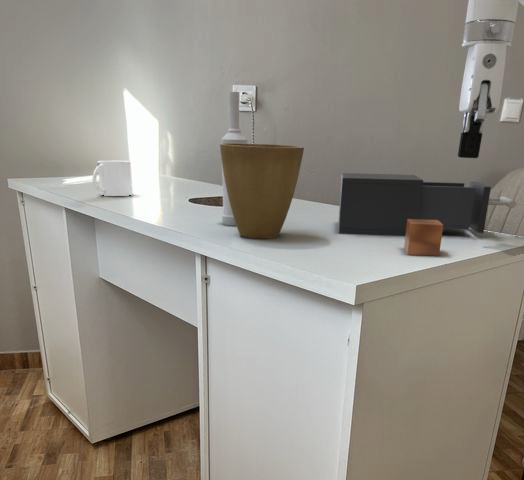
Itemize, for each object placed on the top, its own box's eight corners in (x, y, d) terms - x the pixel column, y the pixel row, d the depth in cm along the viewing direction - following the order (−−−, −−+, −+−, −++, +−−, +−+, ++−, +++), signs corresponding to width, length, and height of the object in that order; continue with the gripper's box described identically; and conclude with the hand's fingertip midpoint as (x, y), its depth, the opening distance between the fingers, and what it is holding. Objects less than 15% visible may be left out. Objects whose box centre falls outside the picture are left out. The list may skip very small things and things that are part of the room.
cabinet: (408, 225, 118) (414, 174, 114) (416, 236, 106) (423, 180, 102) (338, 223, 119) (341, 173, 116) (338, 233, 108) (342, 177, 104)
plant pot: (233, 244, 95) (233, 145, 89) (212, 230, 108) (210, 142, 102) (313, 240, 100) (317, 146, 94) (283, 227, 113) (286, 143, 107)
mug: (123, 192, 167) (121, 160, 163) (138, 195, 160) (136, 161, 157) (85, 195, 159) (82, 161, 156) (99, 198, 153) (96, 162, 150)
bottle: (229, 221, 119) (228, 93, 110) (251, 223, 117) (252, 92, 108) (217, 224, 115) (215, 91, 105) (239, 226, 112) (239, 91, 103)
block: (434, 249, 94) (438, 219, 92) (439, 256, 89) (443, 224, 87) (403, 248, 94) (407, 218, 92) (407, 254, 90) (411, 223, 88)
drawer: (498, 224, 115) (505, 182, 112) (515, 234, 104) (523, 187, 101) (403, 221, 117) (407, 179, 114) (410, 230, 106) (415, 184, 103)
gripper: (525, 30, 82) (500, 160, 89) (500, 44, 96) (481, 156, 103) (472, 29, 83) (452, 158, 90) (455, 43, 97) (439, 155, 104)
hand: (467, 157), depth 96 cm, fingers closed
